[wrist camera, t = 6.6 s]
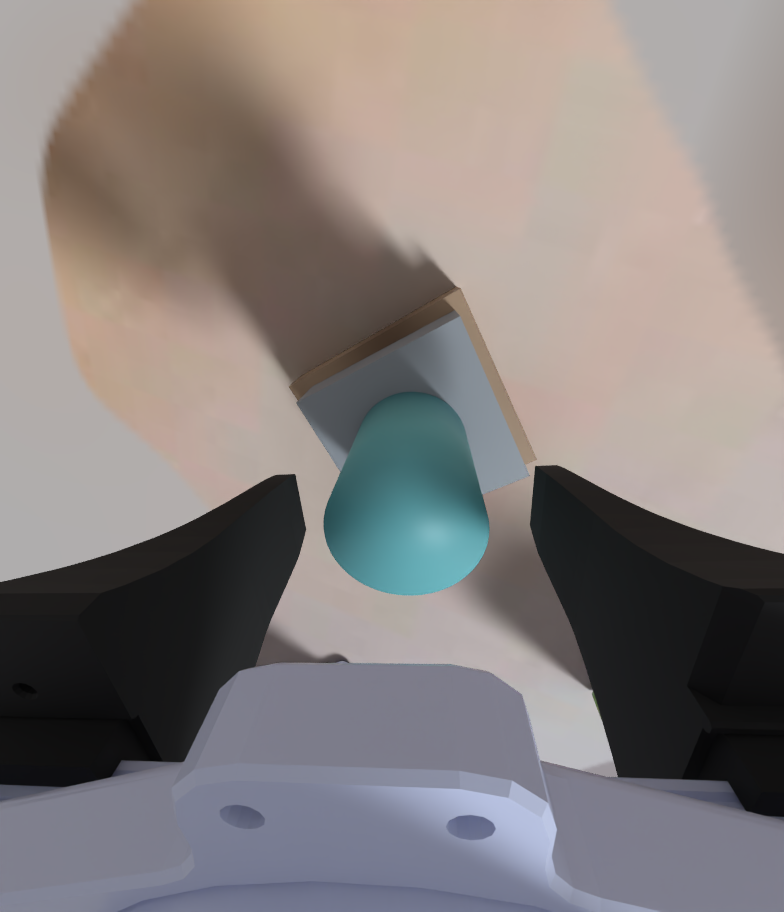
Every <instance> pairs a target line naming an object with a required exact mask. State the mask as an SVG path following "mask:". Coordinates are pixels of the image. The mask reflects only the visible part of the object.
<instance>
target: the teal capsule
mask: <svg viewBox="0 0 784 912" xmlns="http://www.w3.org/2000/svg"><path fill="white" fill-rule="evenodd" d="M324 533H325V538H326V542H327V545H328V547H329V549H330V551H331V553H332V555H333V557H334V558H335V560H336V561H337V562H338V564H339V565H340V566H341V567H342V568H343V569H344V570H345V571H346V572H347V573H348V574H349V575H351V576H352V577H353V578H355V579H356V580H358V581H359V582H361V583H363V584H364V585H367V586H369V587H371V588H373V589H376V590H379V591H382V592H386V593H390V594H397V595H423V594H429V593H433V592H437V591H440V590H443V589H445V588H448V587H450V586H452V585H454V584H455V583H457V582H459V581H460V580H462V579H463V578H464V577H466V576H467V575H468V574H469V573H470V572H471V571H472V570H473V569H474V568H475V567H476V565H477V564H478V563H479V561H480V560H481V558H482V556H483V554H484V552H485V549H486V547H487V543H488V539H489V519H488V515H487V511H486V508H485V504H484V500H483V496H482V492H481V489H480V485H479V481H478V477H477V473H476V470H475V466H474V462H473V458H472V454H471V450H470V447H469V443H468V439H467V435H466V431H465V428H464V425H463V423H462V421H461V419H460V417H459V416H458V414H457V413H456V412H455V410H454V409H453V408H452V407H451V406H450V405H448V404H447V403H446V402H444V401H443V400H441V399H439V398H437V397H435V396H433V395H430V394H426V393H422V392H402V393H397V394H394V395H391V396H389V397H387V398H385V399H383V400H381V401H380V402H378V403H377V404H376V405H375V406H373V407H372V408H371V410H370V411H369V412H368V413H367V415H366V416H365V418H364V420H363V421H362V424H361V426H360V428H359V431H358V433H357V435H356V438H355V440H354V442H353V445H352V447H351V449H350V452H349V454H348V456H347V459H346V461H345V463H344V466H343V468H342V470H341V473H340V475H339V477H338V480H337V482H336V484H335V487H334V489H333V491H332V494H331V496H330V498H329V501H328V503H327V506H326V509H325V515H324Z"/></svg>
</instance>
